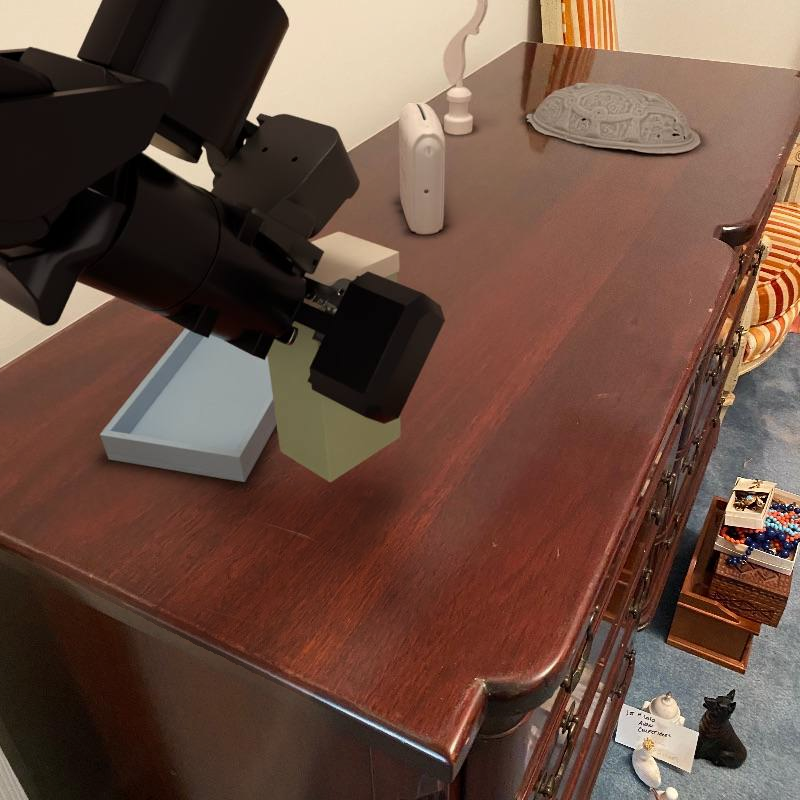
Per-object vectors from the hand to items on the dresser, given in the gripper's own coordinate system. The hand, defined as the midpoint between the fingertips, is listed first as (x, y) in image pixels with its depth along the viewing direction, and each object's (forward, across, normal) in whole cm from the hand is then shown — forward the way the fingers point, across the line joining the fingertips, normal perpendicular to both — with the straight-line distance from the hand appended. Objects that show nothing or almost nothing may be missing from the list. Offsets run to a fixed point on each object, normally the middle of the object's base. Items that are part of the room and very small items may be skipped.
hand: (351, 340), depth 46 cm
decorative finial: (+54, +35, -35) cm, 73 cm away
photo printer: (+36, +23, -17) cm, 47 cm away
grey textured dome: (+63, +18, -44) cm, 79 cm away
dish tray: (+14, +19, +5) cm, 24 cm away
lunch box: (+4, 0, +6) cm, 7 cm away
